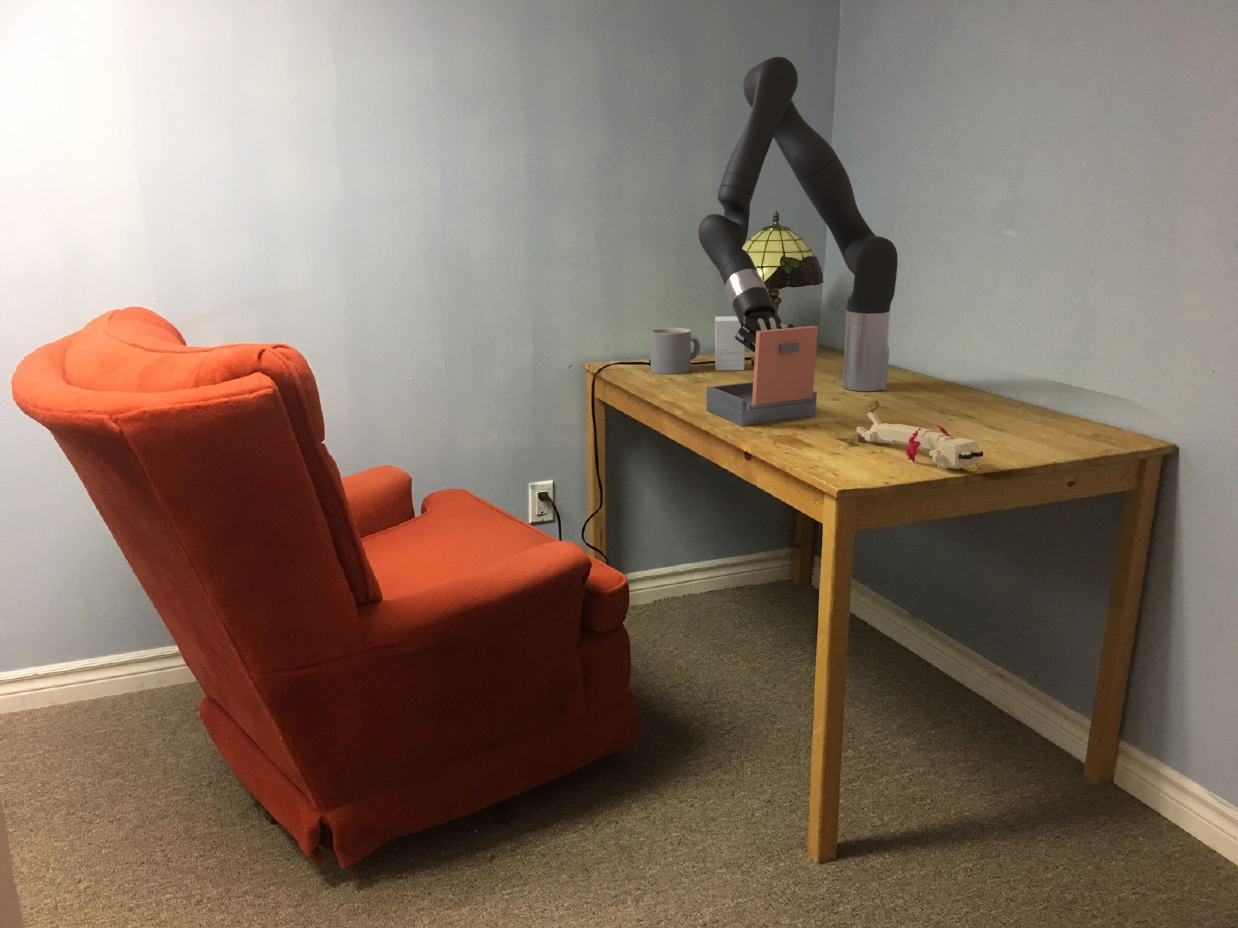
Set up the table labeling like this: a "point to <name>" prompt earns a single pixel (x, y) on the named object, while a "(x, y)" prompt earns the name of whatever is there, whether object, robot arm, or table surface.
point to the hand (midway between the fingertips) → (780, 368)
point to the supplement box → (728, 344)
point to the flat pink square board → (784, 367)
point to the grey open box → (736, 406)
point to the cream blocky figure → (922, 442)
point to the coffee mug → (672, 350)
